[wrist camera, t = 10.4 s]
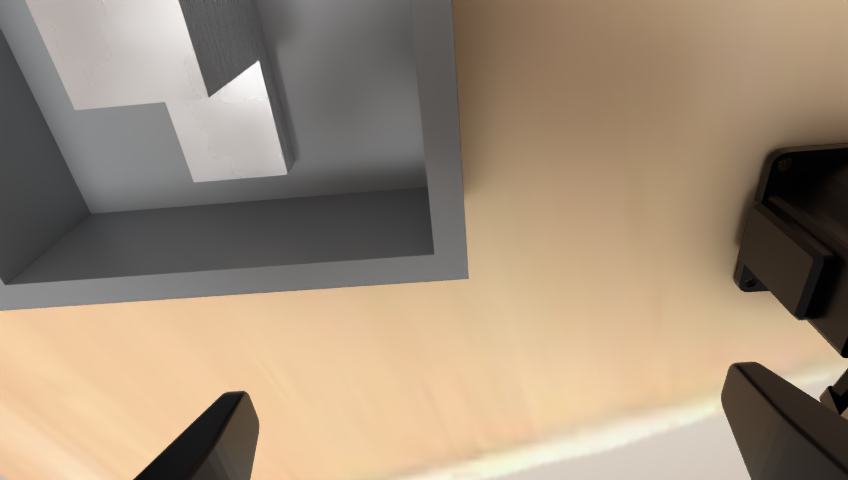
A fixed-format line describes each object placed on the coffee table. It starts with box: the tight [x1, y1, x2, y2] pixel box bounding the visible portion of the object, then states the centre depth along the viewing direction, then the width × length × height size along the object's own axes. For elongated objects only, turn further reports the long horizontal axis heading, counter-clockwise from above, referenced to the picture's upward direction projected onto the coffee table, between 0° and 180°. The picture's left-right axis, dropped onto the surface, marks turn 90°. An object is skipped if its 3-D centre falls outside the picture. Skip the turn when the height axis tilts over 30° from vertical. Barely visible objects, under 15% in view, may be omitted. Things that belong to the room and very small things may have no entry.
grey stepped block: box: [25, 0, 295, 182], centre depth 15 cm, size 4×8×6 cm, turn 5°
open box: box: [0, 0, 469, 311], centre depth 15 cm, size 16×15×6 cm
